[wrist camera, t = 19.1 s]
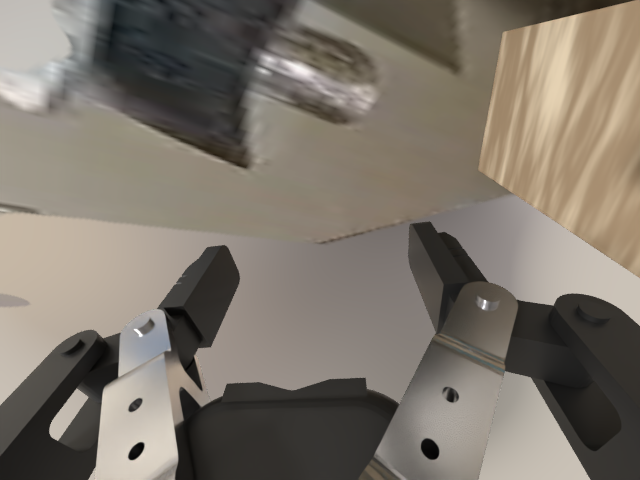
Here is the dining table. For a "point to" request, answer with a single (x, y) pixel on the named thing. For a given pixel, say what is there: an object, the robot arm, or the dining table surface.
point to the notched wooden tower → (572, 125)
